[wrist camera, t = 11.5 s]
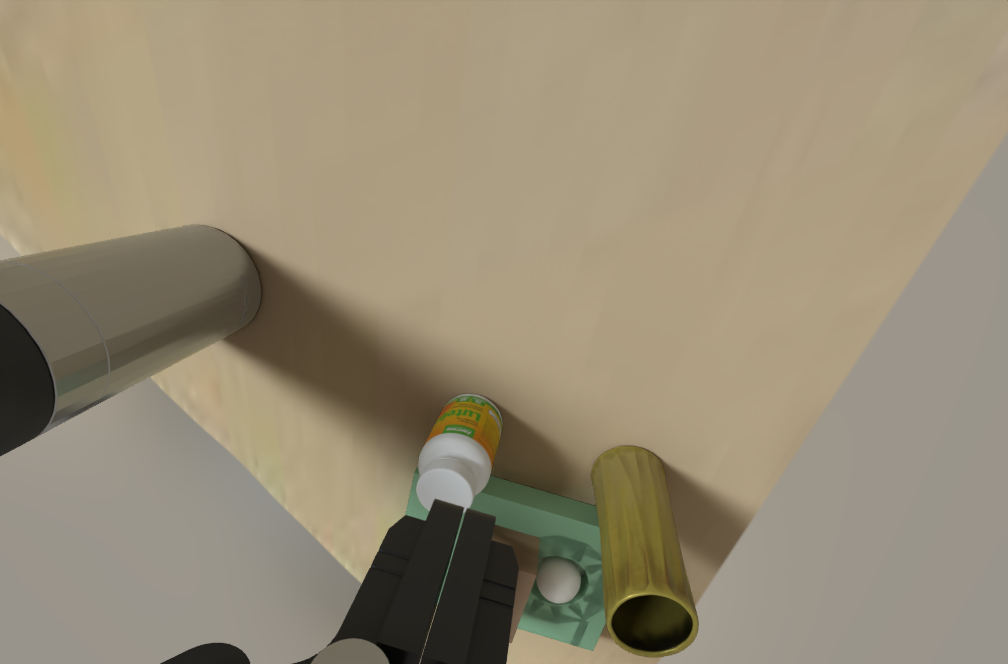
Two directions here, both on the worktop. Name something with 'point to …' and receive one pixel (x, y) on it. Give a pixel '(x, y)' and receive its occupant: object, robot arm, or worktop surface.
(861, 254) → the worktop surface
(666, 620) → the vase
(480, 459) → the supplement bottle
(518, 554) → the block
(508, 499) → the green
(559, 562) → the ball
